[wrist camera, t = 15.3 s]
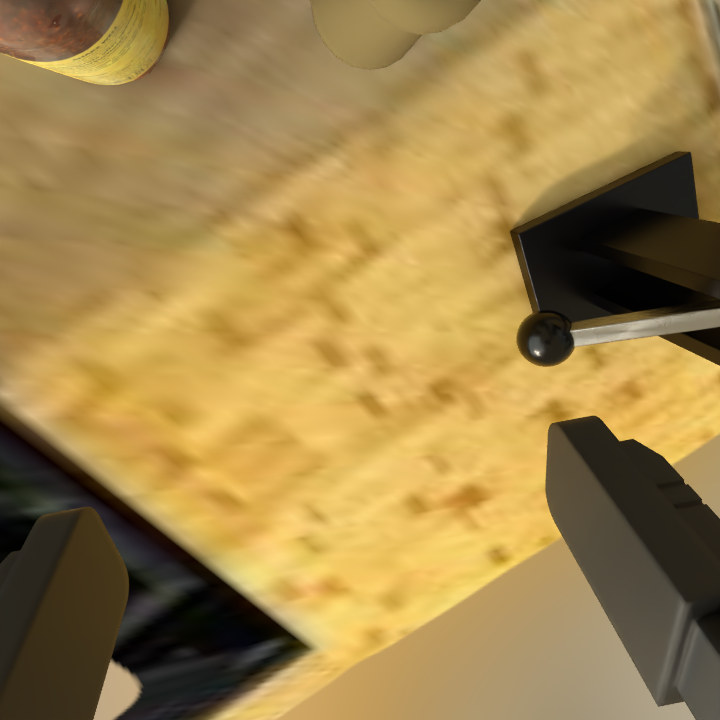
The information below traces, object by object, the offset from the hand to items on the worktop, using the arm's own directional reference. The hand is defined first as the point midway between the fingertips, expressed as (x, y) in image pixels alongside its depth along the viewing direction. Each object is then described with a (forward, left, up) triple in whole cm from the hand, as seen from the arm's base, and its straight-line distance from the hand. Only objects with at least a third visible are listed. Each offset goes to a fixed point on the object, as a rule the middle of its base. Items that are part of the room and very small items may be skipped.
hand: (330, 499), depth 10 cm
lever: (+7, +19, -17) cm, 26 cm away
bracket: (+7, +22, -24) cm, 33 cm away
